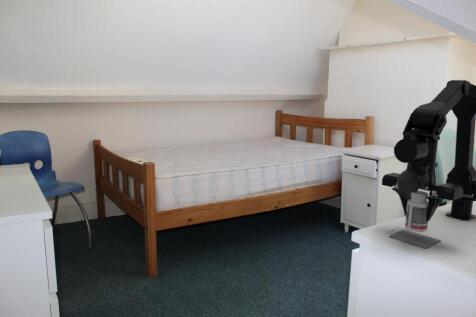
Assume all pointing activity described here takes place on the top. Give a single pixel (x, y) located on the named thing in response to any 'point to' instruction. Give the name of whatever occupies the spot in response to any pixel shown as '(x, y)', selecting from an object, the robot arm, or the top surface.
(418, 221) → the pill bottle
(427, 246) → the slate mat
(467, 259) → the top surface
